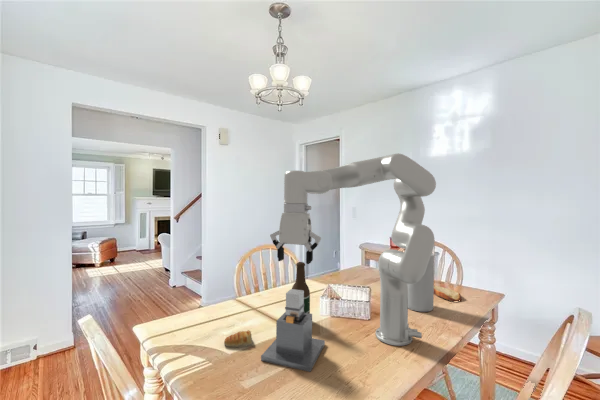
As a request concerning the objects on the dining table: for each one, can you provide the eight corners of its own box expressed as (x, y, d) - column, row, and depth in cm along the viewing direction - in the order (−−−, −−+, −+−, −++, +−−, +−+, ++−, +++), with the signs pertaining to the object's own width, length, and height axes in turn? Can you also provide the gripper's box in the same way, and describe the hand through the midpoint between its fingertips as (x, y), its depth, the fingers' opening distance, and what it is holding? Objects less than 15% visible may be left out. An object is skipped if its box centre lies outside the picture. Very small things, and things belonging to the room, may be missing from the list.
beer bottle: (308, 326, 110) (308, 265, 110) (288, 324, 112) (289, 264, 112) (311, 318, 118) (311, 261, 118) (293, 316, 120) (293, 260, 119)
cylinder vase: (427, 302, 137) (428, 251, 136) (437, 313, 124) (438, 256, 124) (401, 301, 138) (401, 250, 138) (408, 311, 126) (409, 255, 125)
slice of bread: (428, 287, 161) (428, 280, 161) (464, 294, 150) (464, 287, 150) (420, 296, 146) (420, 289, 146) (460, 304, 136) (460, 296, 136)
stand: (324, 344, 97) (325, 306, 97) (310, 371, 82) (310, 327, 82) (281, 336, 102) (282, 300, 102) (261, 360, 87) (261, 318, 87)
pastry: (225, 351, 93) (225, 339, 93) (223, 341, 99) (223, 330, 99) (253, 346, 96) (253, 335, 96) (250, 337, 103) (250, 326, 103)
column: (304, 344, 94) (304, 290, 93) (299, 352, 89) (299, 295, 89) (290, 341, 95) (290, 288, 95) (284, 349, 91) (285, 293, 91)
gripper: (324, 209, 92) (323, 261, 92) (276, 207, 98) (275, 257, 98) (317, 210, 85) (316, 267, 85) (266, 208, 91) (265, 261, 91)
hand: (294, 261), depth 92 cm, fingers open, 9 cm apart
